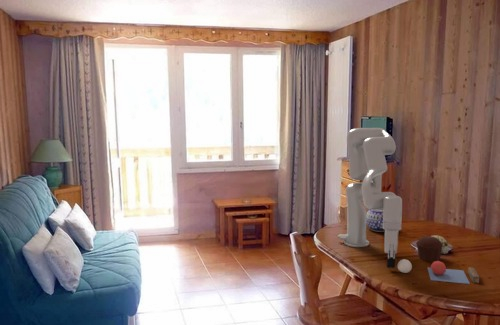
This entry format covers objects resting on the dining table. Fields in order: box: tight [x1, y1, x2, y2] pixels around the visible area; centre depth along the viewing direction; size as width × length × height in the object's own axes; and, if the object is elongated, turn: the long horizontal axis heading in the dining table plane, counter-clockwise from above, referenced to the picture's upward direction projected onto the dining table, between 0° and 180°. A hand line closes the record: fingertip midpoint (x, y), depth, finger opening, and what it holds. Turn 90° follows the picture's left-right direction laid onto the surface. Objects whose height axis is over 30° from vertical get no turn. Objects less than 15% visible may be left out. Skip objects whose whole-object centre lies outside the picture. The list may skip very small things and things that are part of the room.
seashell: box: [432, 235, 450, 255], centre depth 200 cm, size 10×10×10 cm
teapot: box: [366, 209, 385, 233], centre depth 237 cm, size 25×15×15 cm, turn 173°
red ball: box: [430, 260, 447, 275], centre depth 171 cm, size 6×6×6 cm
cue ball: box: [397, 258, 413, 274], centre depth 173 cm, size 6×6×6 cm
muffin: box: [415, 235, 443, 263], centre depth 190 cm, size 12×11×10 cm
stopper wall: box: [467, 267, 480, 284], centre depth 167 cm, size 2×10×2 cm, turn 163°
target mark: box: [427, 266, 471, 285], centre depth 170 cm, size 14×14×1 cm
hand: (390, 266), depth 176 cm, fingers closed
